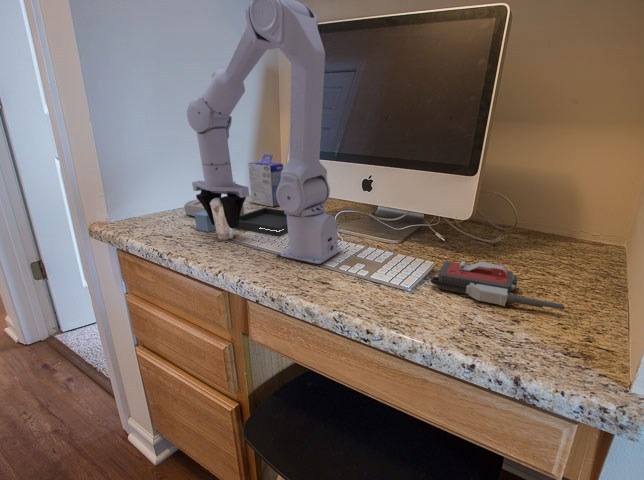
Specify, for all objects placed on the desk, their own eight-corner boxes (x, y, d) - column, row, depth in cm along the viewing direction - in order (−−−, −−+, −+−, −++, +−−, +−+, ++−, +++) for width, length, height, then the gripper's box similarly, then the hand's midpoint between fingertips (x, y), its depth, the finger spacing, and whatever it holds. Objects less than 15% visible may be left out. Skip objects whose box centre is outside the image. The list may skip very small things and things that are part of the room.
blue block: (221, 227, 92) (219, 211, 90) (208, 232, 89) (205, 215, 87) (209, 225, 94) (207, 209, 92) (196, 229, 90) (193, 213, 89)
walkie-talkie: (426, 293, 60) (562, 319, 53) (428, 268, 59) (569, 292, 52) (438, 273, 68) (559, 293, 61) (440, 250, 66) (565, 269, 59)
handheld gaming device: (211, 208, 109) (209, 195, 107) (245, 216, 102) (243, 202, 100) (183, 215, 102) (180, 202, 101) (217, 224, 95) (214, 209, 93)
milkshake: (235, 241, 83) (229, 196, 79) (211, 240, 83) (204, 196, 79) (242, 234, 87) (237, 192, 83) (220, 234, 87) (213, 191, 83)
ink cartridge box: (287, 204, 115) (283, 155, 109) (273, 207, 111) (269, 157, 105) (264, 199, 120) (260, 152, 114) (251, 203, 115) (245, 154, 110)
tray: (311, 221, 97) (310, 214, 97) (278, 236, 87) (278, 227, 86) (265, 214, 104) (264, 207, 103) (229, 226, 93) (228, 219, 92)
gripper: (256, 163, 79) (262, 225, 84) (206, 159, 85) (215, 216, 90) (231, 167, 73) (240, 233, 79) (180, 162, 79) (191, 224, 84)
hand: (225, 225), depth 84 cm, fingers closed on milkshake, 5 cm apart
